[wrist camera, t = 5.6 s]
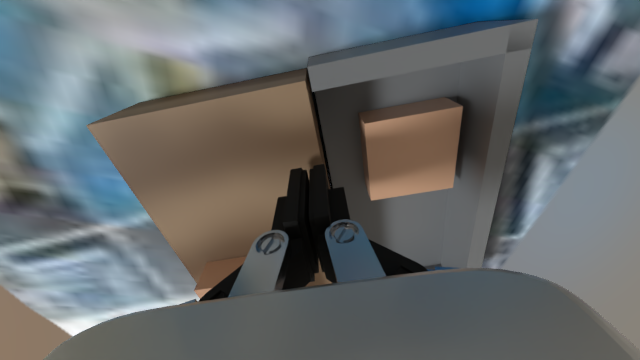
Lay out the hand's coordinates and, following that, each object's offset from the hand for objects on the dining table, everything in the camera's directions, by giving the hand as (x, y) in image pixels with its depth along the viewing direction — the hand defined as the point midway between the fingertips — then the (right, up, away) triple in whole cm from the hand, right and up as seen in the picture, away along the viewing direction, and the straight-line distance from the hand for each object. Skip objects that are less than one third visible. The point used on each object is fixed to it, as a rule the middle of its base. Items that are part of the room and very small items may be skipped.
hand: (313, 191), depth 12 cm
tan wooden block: (-4, -2, +6) cm, 8 cm away
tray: (+6, 0, +6) cm, 8 cm away
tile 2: (+5, +2, +2) cm, 6 cm away
